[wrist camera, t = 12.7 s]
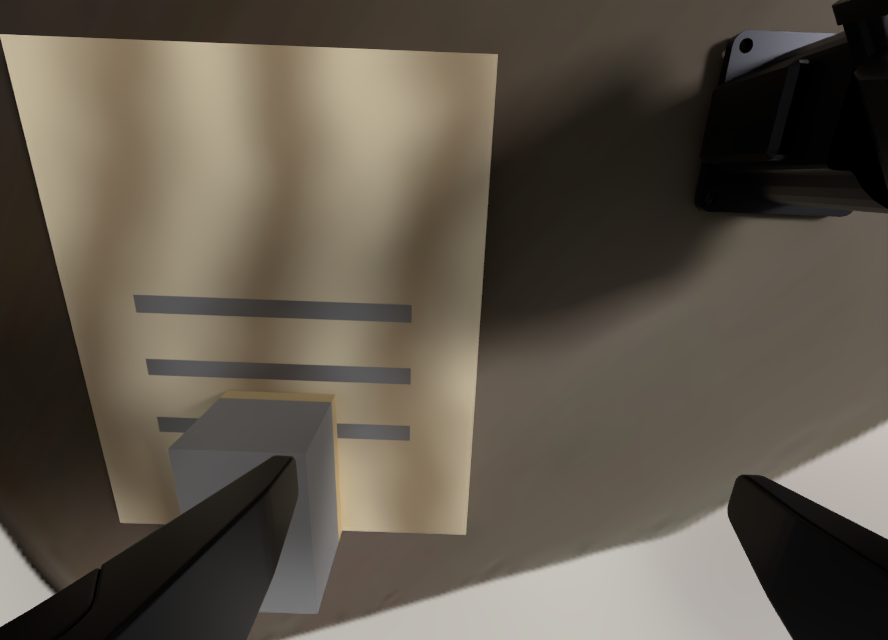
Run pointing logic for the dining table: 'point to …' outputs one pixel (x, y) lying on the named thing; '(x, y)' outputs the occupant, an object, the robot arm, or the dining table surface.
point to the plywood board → (270, 250)
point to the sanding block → (251, 443)
